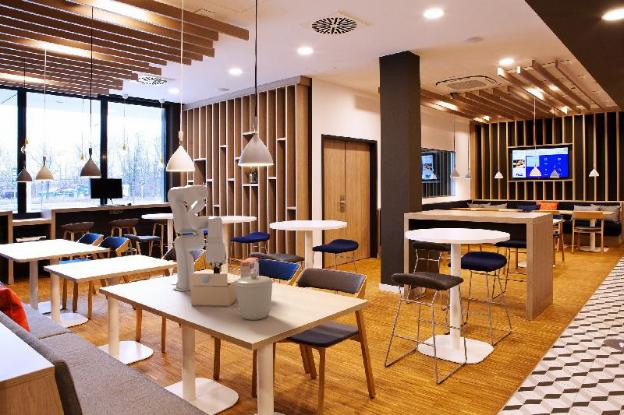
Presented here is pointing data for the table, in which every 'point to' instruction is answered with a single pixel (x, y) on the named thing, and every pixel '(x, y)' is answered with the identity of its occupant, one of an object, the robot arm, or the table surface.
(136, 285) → the table surface
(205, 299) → the carton
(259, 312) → the canister
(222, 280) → the near flap
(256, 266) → the cracker box
